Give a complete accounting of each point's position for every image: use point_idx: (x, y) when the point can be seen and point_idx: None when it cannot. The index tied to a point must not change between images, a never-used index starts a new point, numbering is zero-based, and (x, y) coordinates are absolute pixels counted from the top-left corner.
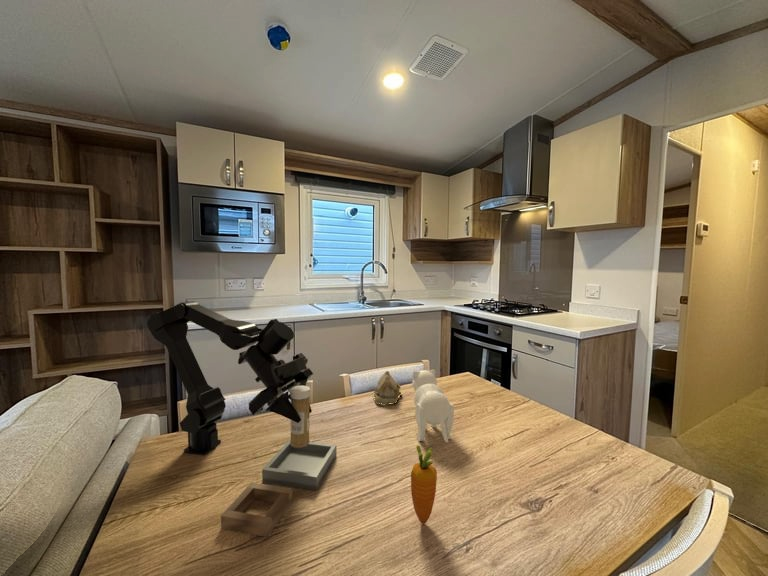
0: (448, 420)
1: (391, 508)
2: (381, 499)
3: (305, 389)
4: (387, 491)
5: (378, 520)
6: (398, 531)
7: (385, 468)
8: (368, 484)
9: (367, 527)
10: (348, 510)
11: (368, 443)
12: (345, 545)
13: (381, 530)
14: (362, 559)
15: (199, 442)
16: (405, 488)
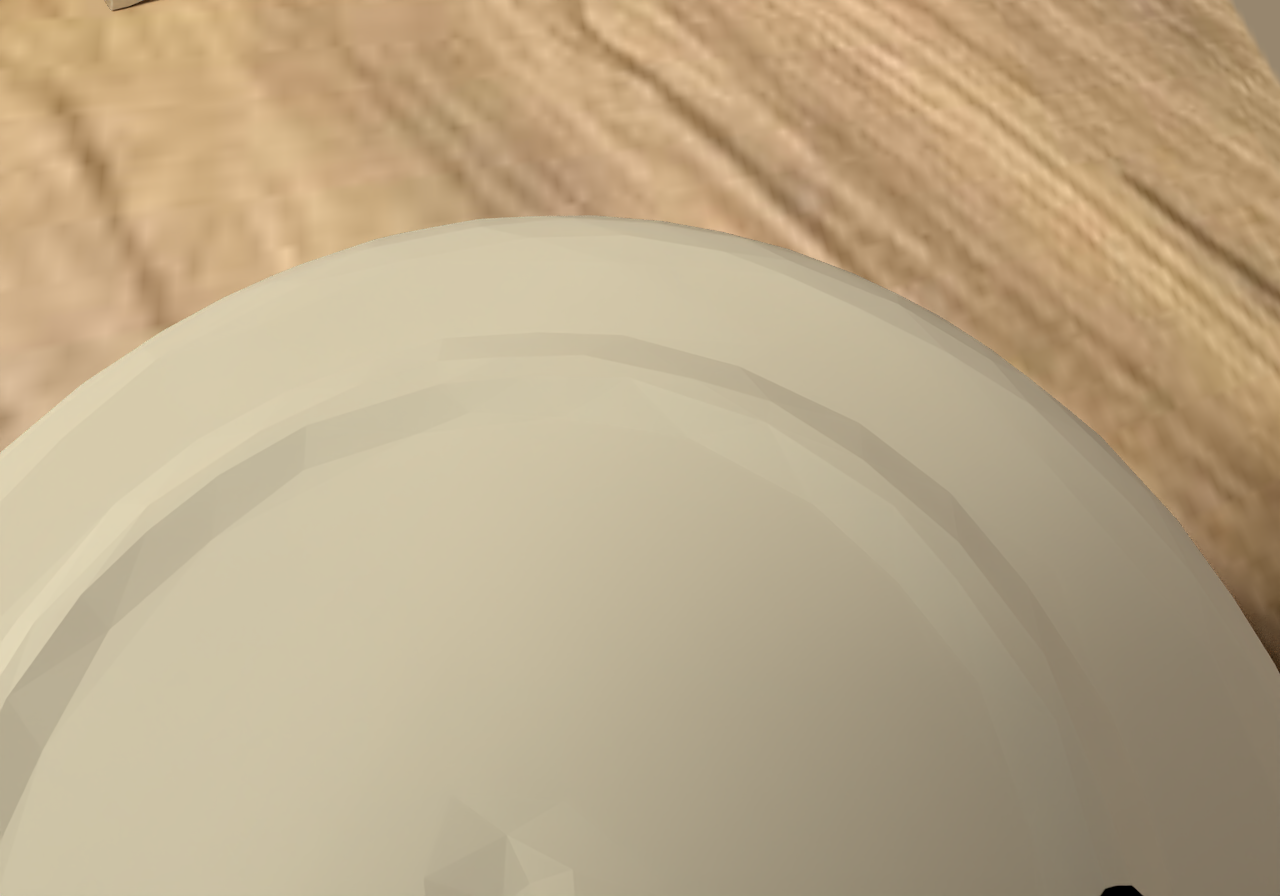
0: None
1: (889, 80)
2: (832, 135)
3: (685, 371)
4: (753, 115)
5: (999, 126)
6: (1035, 36)
7: (521, 154)
8: (713, 225)
9: (1068, 167)
10: (983, 288)
11: (179, 319)
12: (1228, 243)
13: (1060, 104)
14: (1266, 153)
15: None
16: (703, 33)
